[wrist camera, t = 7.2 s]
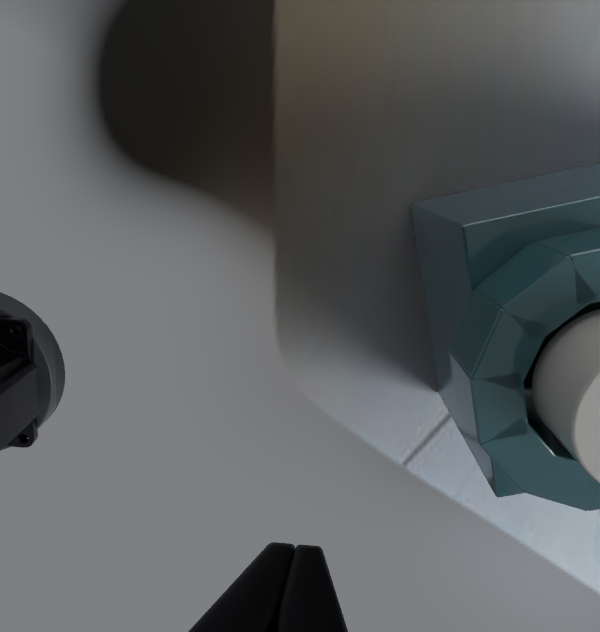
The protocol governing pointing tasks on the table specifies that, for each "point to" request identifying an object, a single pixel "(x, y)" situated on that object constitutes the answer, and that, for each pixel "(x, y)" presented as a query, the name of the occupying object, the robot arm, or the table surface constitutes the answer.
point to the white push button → (572, 389)
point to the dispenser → (510, 316)
